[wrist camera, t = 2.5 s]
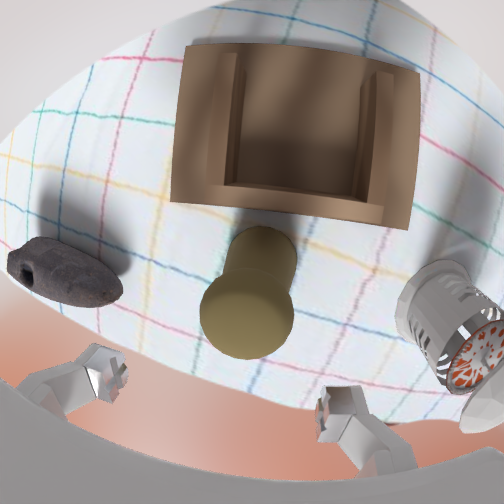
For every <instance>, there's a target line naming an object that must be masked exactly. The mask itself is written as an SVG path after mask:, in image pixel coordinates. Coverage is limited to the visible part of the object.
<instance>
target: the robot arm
mask: <svg viewBox="0 0 504 504" xmlns="http://www.w3.org/2000/svg"><path fill="white" fill-rule="evenodd" d="M124 361H125V356H124V353H122V352H120V351H117V350H114V349H111V348H108V347H105V346H102V345H99V344H96V343H92V344H91V345H90V346H89V347H88V348H87V349H86V350H85V351H84V352H83V353H82V354H81V355H80V356H79V357H78V358H77V359H76V360H75V361H74V362H71V361H70V362H67V363H64V364H61V365H58V366H55V367H51V368H48V369H45V370H42V371H38V372H35V373H31V374H29V375H28V376H27V377H26V378H25V379H24V380H23V381H22V382H21V383H20V384H19V385H18V386H17V387H16V388H13V387H12V386H11V385H10V384H8V383H7V382H5V381H4V380H3V379H1V378H0V504H504V454H503V453H502V452H500V451H498V450H497V449H494V448H492V447H485V448H482V449H479V450H476V451H474V452H471V453H468V454H466V455H463V456H460V457H457V458H454V459H451V460H447V461H444V462H441V463H437V464H434V465H430V466H426V467H422V468H418V466H417V463H416V460H415V456H414V453H413V450H412V447H411V445H410V444H409V443H408V442H406V441H405V440H404V439H403V438H401V437H400V436H399V435H398V434H396V433H395V432H394V431H393V430H391V429H390V428H389V427H388V426H387V425H385V424H384V423H383V422H382V421H380V420H379V419H378V418H377V417H376V416H374V415H373V414H369V411H368V407H367V404H366V400H365V397H364V393H363V390H362V387H361V386H360V385H359V386H333V385H324V386H323V387H322V390H321V398H320V399H318V401H317V404H316V409H315V421H316V422H317V423H318V426H317V428H316V436H317V442H338V444H339V446H340V447H341V448H342V450H343V451H344V452H345V453H346V455H347V456H348V457H349V458H350V459H351V461H352V462H353V463H354V464H355V466H357V468H358V469H359V470H360V471H359V472H358V474H357V475H356V476H355V477H354V478H353V479H344V480H326V481H324V480H323V481H294V480H293V481H292V480H274V479H261V478H251V477H243V476H235V475H229V474H223V473H217V472H212V471H207V470H202V469H197V468H193V467H188V466H184V465H180V464H176V463H172V462H169V461H166V460H162V459H158V458H155V457H152V456H149V455H146V454H143V453H140V452H137V451H134V450H132V449H129V448H126V447H124V446H121V445H118V444H116V443H113V442H111V441H109V440H106V439H104V438H101V437H99V436H97V435H95V434H93V433H90V432H88V431H86V430H84V429H82V428H80V427H78V426H76V425H74V424H72V423H70V422H69V421H68V419H67V418H66V416H65V415H66V414H68V413H70V412H72V411H74V410H76V409H78V408H80V407H82V406H84V405H86V404H87V403H89V402H91V401H93V400H95V399H96V398H98V399H101V400H103V401H106V402H109V403H113V402H114V401H115V399H116V398H117V396H118V395H119V390H118V389H120V388H123V387H124V386H125V384H126V383H127V379H128V369H127V367H126V365H125V364H124V363H123V362H124Z"/></svg>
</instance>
